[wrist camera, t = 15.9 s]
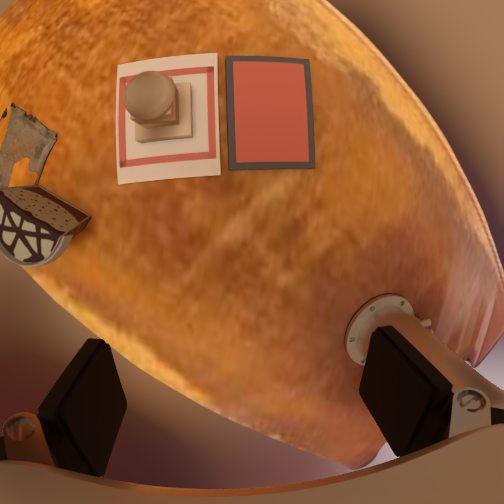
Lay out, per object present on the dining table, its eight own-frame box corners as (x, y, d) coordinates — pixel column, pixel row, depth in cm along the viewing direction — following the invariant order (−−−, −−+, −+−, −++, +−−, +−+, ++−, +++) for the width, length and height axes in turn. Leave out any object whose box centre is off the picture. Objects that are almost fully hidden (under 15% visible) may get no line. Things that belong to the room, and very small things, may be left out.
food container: (19, 221, 30) (-25, 238, 21) (32, 180, 29) (-15, 187, 20) (85, 263, 33) (49, 293, 24) (101, 221, 32) (64, 239, 23)
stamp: (191, 88, 29) (182, 50, 18) (192, 137, 30) (181, 120, 19) (140, 94, 28) (109, 62, 17) (140, 143, 30) (106, 130, 19)
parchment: (11, 100, 26) (7, 99, 25) (64, 135, 29) (60, 134, 28) (-21, 174, 27) (-25, 175, 26) (27, 216, 31) (23, 217, 30)
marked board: (217, 56, 29) (217, 52, 27) (220, 174, 33) (220, 175, 32) (120, 67, 27) (117, 64, 26) (120, 184, 31) (117, 184, 30)
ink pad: (306, 62, 30) (309, 59, 29) (312, 168, 34) (315, 168, 33) (225, 59, 29) (225, 55, 28) (228, 170, 33) (229, 170, 32)
